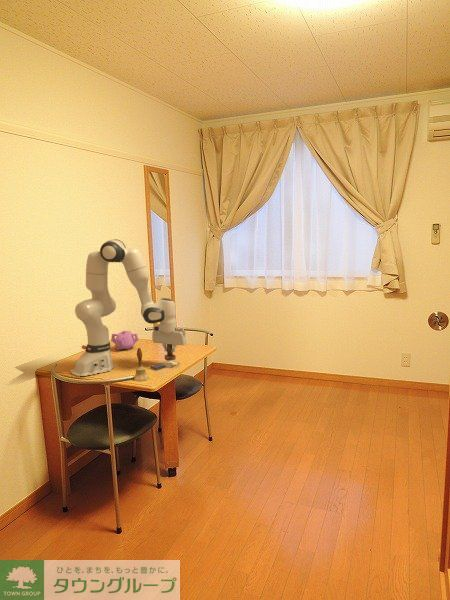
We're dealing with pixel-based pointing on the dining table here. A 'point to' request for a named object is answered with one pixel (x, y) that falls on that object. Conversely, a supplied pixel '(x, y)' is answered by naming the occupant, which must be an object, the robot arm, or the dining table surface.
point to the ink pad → (157, 367)
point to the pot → (124, 340)
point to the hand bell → (140, 369)
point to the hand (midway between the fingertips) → (169, 351)
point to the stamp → (169, 353)
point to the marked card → (170, 363)
